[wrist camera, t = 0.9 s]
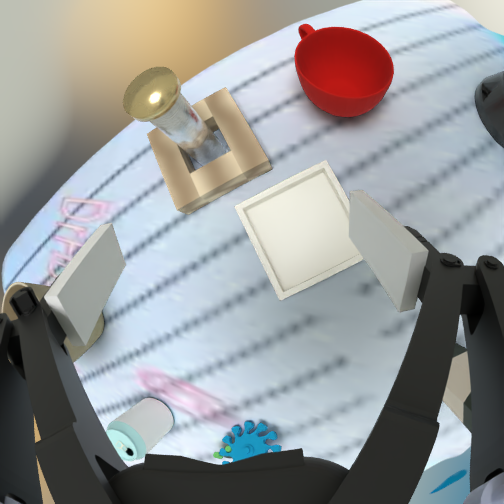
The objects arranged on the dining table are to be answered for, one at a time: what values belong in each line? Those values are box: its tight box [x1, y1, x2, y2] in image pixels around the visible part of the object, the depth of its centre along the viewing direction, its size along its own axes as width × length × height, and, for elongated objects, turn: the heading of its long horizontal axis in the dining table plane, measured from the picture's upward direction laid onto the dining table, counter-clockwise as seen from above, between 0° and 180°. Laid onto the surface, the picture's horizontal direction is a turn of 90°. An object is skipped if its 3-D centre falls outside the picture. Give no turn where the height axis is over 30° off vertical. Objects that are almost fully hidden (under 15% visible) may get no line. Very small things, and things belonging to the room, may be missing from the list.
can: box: [106, 398, 173, 461], centre depth 37 cm, size 7×7×12 cm
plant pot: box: [2, 282, 104, 362], centre depth 39 cm, size 15×15×16 cm
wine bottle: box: [443, 343, 472, 433], centre depth 20 cm, size 8×8×30 cm
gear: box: [213, 422, 282, 465], centre depth 38 cm, size 11×6×10 cm
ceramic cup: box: [294, 24, 394, 117], centre depth 35 cm, size 13×17×10 cm
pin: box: [123, 67, 225, 166], centre depth 34 cm, size 6×6×19 cm
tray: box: [234, 160, 364, 301], centre depth 38 cm, size 14×14×3 cm
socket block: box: [147, 87, 272, 215], centre depth 41 cm, size 14×14×4 cm
